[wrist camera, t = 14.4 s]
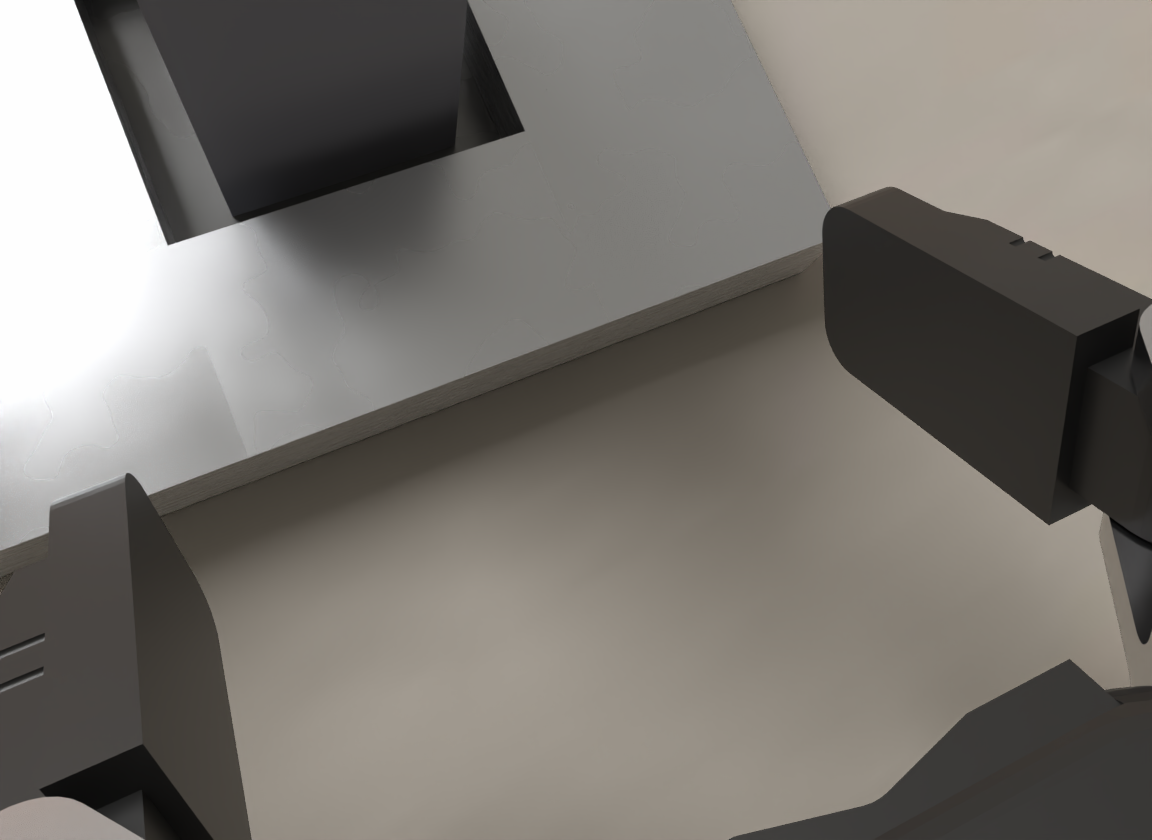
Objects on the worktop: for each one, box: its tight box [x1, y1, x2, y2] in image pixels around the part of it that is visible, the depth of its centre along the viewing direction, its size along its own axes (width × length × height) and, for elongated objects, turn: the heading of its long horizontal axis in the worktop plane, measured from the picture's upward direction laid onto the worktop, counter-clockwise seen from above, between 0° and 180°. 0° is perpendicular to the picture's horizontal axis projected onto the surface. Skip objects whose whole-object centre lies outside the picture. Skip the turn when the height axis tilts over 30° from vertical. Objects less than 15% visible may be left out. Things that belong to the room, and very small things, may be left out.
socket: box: [0, 0, 831, 577], centre depth 18 cm, size 16×14×3 cm
